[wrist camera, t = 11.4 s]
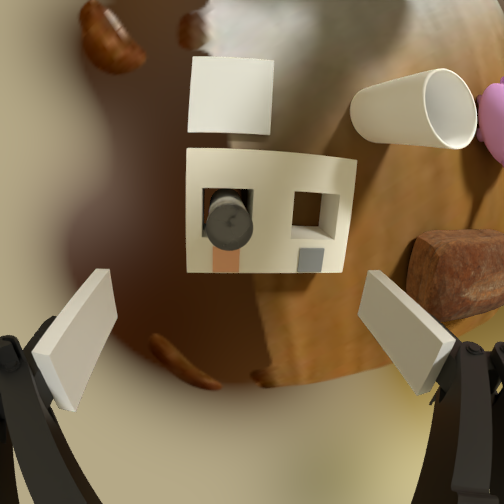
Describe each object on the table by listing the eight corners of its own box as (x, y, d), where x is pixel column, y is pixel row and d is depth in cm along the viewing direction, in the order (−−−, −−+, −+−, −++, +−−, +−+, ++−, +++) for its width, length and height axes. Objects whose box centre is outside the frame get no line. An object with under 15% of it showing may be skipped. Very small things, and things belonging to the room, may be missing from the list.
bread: (485, 283, 49) (520, 308, 38) (393, 300, 46) (432, 340, 35) (499, 223, 44) (539, 242, 33) (407, 223, 41) (457, 250, 30)
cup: (350, 140, 36) (424, 143, 21) (348, 83, 33) (419, 58, 18) (398, 145, 37) (477, 154, 22) (397, 92, 34) (474, 80, 19)
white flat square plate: (193, 58, 30) (192, 56, 29) (272, 62, 31) (274, 60, 30) (188, 132, 33) (187, 132, 32) (268, 135, 35) (270, 134, 34)
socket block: (191, 148, 34) (186, 148, 28) (337, 157, 36) (358, 160, 31) (190, 254, 39) (186, 273, 33) (326, 255, 41) (342, 273, 35)
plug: (209, 186, 36) (206, 204, 25) (242, 187, 37) (254, 205, 25) (209, 218, 37) (205, 250, 26) (241, 219, 38) (251, 251, 27)
